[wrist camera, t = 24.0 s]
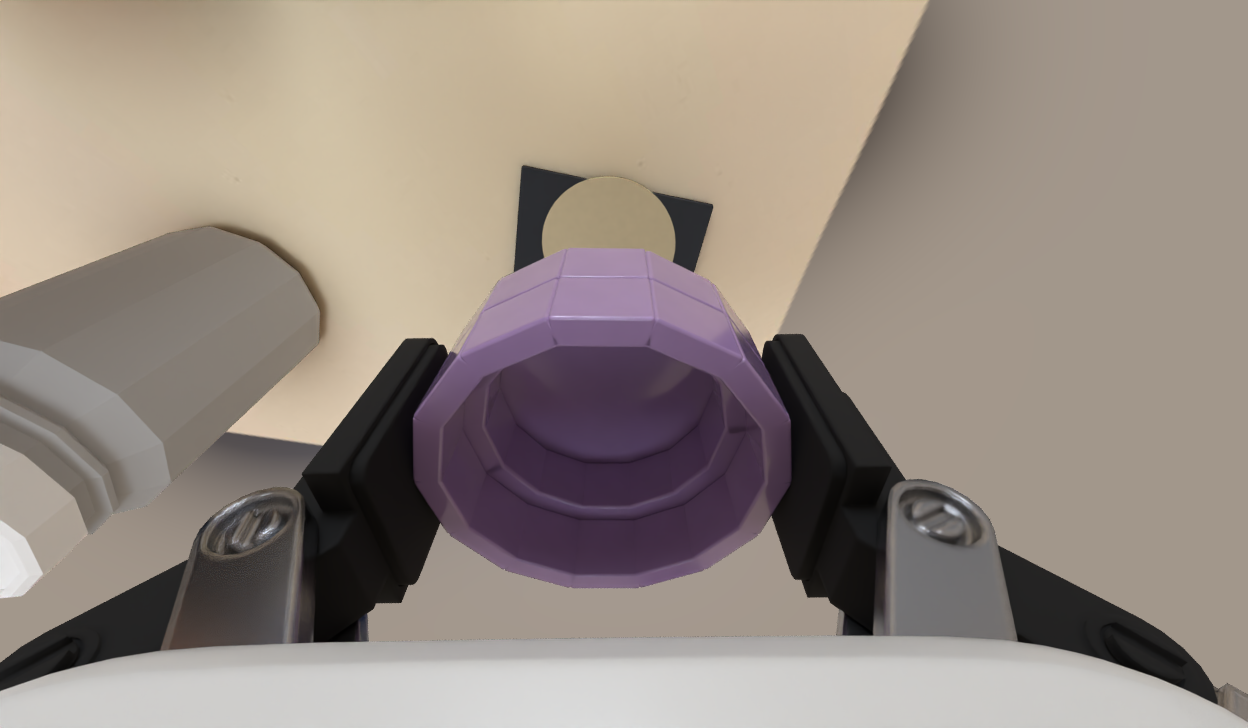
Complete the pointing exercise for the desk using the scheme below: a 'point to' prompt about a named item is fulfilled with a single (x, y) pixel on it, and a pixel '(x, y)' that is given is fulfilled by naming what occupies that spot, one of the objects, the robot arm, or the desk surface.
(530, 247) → the mat
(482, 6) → the desk surface
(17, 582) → the jar
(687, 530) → the lilac dish
